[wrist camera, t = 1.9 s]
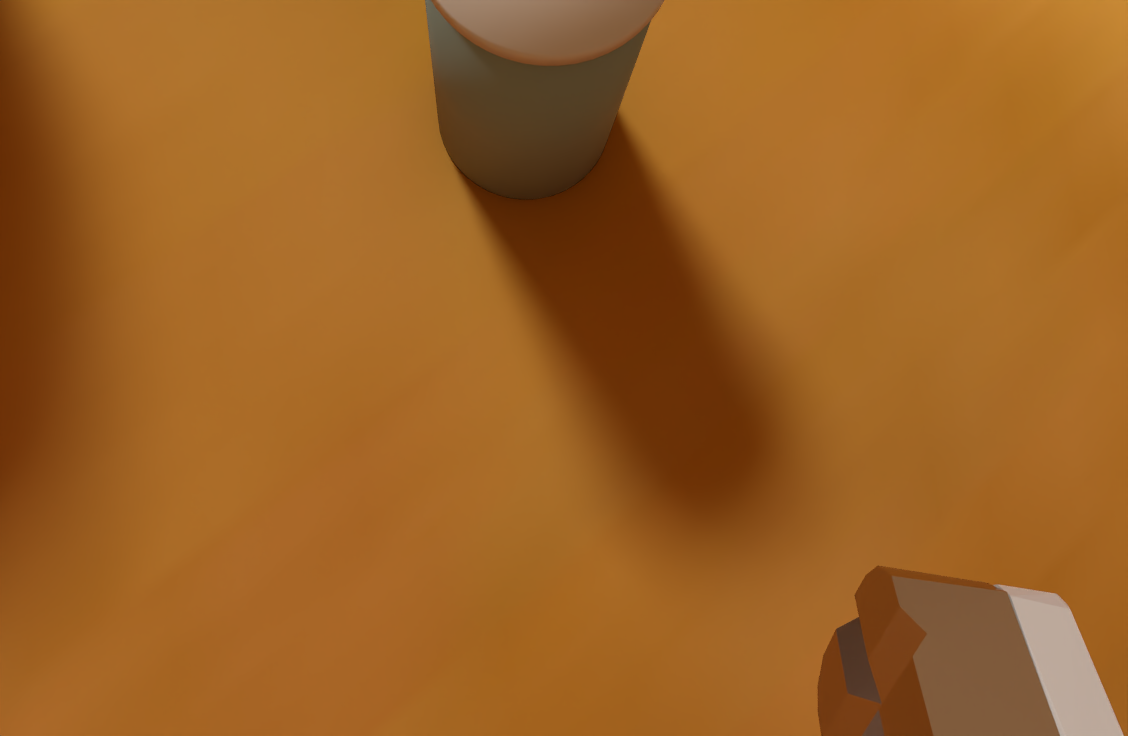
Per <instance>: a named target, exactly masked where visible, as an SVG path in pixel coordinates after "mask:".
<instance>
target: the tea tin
mask: <svg viewBox="0 0 1128 736" xmlns="http://www.w3.org/2000/svg"><path fill="white" fill-rule="evenodd" d="M425 2H426V12H427V21H428V30H429V39H430V48H431V58H432V67H433V76H434V85H435V94H436V104H437V113H438V122H439V128H440V133H441V137H442V140H443V143H444V145H445V148H446V150H447V152H448V154H449V156H450V157H451V159H452V160H453V162H454V163H455V165H456V166H457V167H458V168H459V170H460V171H461V172H462V173H463V174H464V175H465V176H467V177H468V178H469V179H470V180H471V181H473V182H474V183H475V184H477V185H478V186H480V187H482V188H484V189H485V190H487V191H490V192H492V193H495V194H497V195H500V196H504V197H508V198H514V199H538V198H544V197H548V196H552V195H555V194H558V193H560V192H563V191H565V190H567V189H568V188H570V187H572V186H574V185H575V184H576V183H578V182H579V181H580V180H582V179H583V178H584V177H585V176H586V175H587V174H588V173H589V172H590V171H591V169H592V168H593V167H594V166H595V164H596V163H597V161H598V160H599V158H600V156H601V154H602V152H603V150H604V147H605V145H606V142H607V140H608V137H609V134H610V131H611V129H612V126H613V123H614V120H615V118H616V115H617V112H618V109H619V107H620V104H621V101H622V98H623V96H624V93H625V90H626V87H627V85H628V82H629V79H630V77H631V74H632V71H633V68H634V66H635V63H636V60H637V57H638V55H639V52H640V49H641V46H642V44H643V41H644V38H645V35H646V33H647V30H648V27H649V24H650V22H651V19H652V18H653V17H654V16H655V14H656V13H657V12H658V10H659V9H660V7H661V5H662V3H663V2H664V0H425Z"/></svg>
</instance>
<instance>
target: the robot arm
mask: <svg viewBox="0 0 1128 736" xmlns="http://www.w3.org/2000/svg"><path fill="white" fill-rule="evenodd" d="M855 600H856V605H857V609H858V614H859V617H858V618H856V619H854V620H852V621H851V622H849V623H847V624H845V625H843V626H841V627H839V628H837V629H836V630H835V632H834V634H833V636H832V638H831V641H830V643H829V645H828V647H827V649H826V651H825V653H824V655H823V660H822V665H821V671H820V676H819V681H818V716H819V723H820V730H821V736H1124V735H1123V732H1122V730H1121V728H1120V725H1119V723H1118V721H1117V718H1116V716H1115V714H1114V711H1113V709H1112V707H1111V704H1110V702H1109V700H1108V697H1107V695H1106V692H1105V690H1104V688H1103V685H1102V683H1101V681H1100V678H1099V676H1098V674H1097V671H1096V669H1095V667H1094V664H1093V662H1092V660H1091V657H1090V655H1089V653H1088V650H1087V648H1086V646H1085V643H1084V641H1083V639H1082V636H1081V634H1080V631H1079V629H1078V627H1077V624H1076V622H1075V620H1074V617H1073V615H1072V613H1071V610H1070V608H1069V607H1068V605H1067V604H1066V603H1065V602H1064V601H1063V600H1062V599H1061V598H1060V597H1059V596H1058V595H1057V594H1054V593H1048V592H1042V591H1035V590H1029V589H1023V588H1016V587H1010V586H1004V585H991V584H989V583H985V582H978V581H972V580H966V579H959V578H953V577H947V576H941V575H934V574H928V573H922V572H915V571H909V570H903V569H896V568H890V567H884V566H877V567H875V568H874V569H873V570H872V571H870V572H869V573H868V574H866V576H865V577H864V579H863V581H862V583H861V584H860V586H859V588H858V590H857V591H856V593H855Z"/></svg>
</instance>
